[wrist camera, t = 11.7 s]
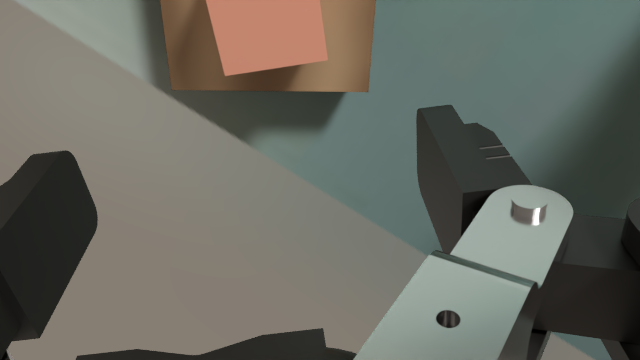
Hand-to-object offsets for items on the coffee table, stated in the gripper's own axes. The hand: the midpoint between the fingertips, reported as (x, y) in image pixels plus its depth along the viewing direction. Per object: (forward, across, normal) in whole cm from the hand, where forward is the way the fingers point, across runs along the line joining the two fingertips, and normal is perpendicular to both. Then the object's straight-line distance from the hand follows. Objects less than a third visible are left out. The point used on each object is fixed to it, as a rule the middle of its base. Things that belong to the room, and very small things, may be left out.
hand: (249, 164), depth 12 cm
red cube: (+19, 0, 0) cm, 19 cm away
